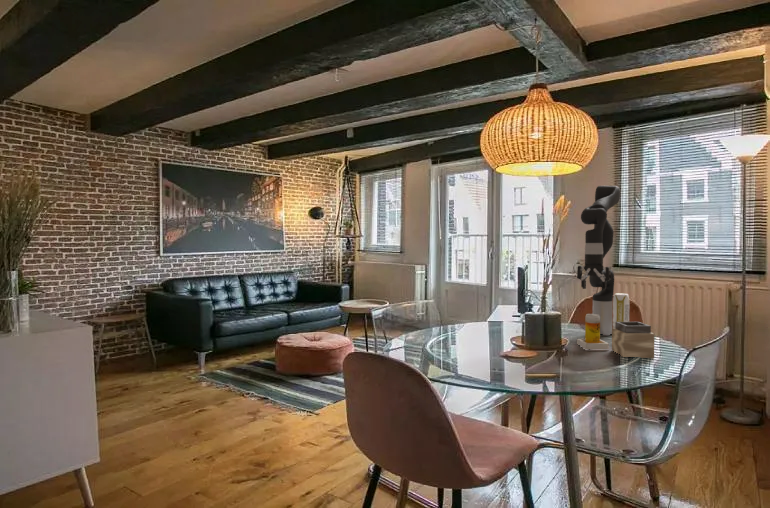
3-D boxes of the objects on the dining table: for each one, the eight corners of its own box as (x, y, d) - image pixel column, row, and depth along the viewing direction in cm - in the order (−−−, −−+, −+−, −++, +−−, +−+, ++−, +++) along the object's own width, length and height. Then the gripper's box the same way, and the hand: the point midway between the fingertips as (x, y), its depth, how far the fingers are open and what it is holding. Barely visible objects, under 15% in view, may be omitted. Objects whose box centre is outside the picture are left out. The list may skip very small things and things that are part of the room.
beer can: (595, 350, 213) (595, 316, 213) (582, 347, 218) (582, 314, 218) (602, 347, 217) (602, 314, 217) (589, 345, 222) (589, 313, 221)
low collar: (577, 345, 223) (577, 338, 223) (599, 345, 223) (599, 338, 223) (585, 350, 213) (585, 343, 213) (608, 350, 213) (608, 343, 213)
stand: (611, 350, 212) (612, 321, 211) (639, 350, 211) (639, 321, 211) (624, 357, 200) (625, 326, 199) (654, 357, 199) (654, 326, 199)
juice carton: (629, 328, 261) (629, 293, 260) (627, 331, 253) (628, 295, 253) (614, 327, 265) (614, 292, 264) (612, 330, 257) (612, 294, 257)
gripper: (574, 253, 219) (574, 289, 219) (606, 253, 208) (606, 291, 209) (581, 252, 224) (581, 287, 224) (613, 253, 214) (613, 289, 214)
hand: (593, 289), depth 217 cm, fingers open, 8 cm apart
